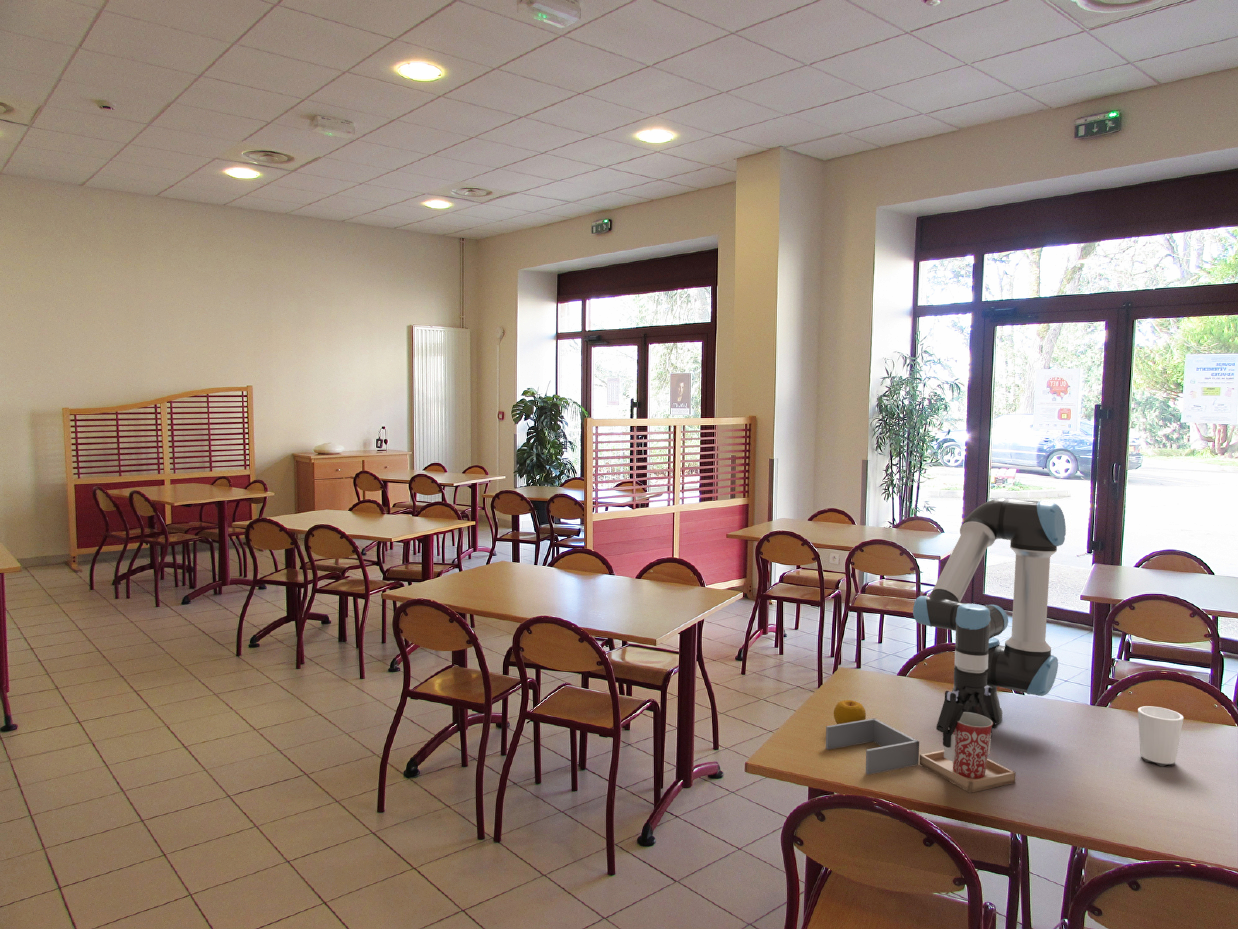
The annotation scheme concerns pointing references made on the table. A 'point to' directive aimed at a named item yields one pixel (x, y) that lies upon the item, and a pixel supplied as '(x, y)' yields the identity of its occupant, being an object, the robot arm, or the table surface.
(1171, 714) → the cup
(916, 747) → the bay
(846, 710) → the apple
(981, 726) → the mug
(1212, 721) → the table surface
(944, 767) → the tray
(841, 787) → the table surface
